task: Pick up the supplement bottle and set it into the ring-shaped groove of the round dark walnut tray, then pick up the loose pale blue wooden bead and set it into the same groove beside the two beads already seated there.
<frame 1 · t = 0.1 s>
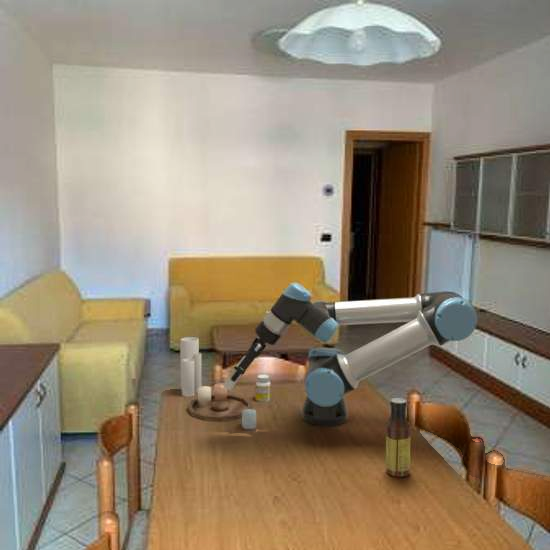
hand: (231, 380, 172), 15 cm above the table, tool tilted 35°, fingers open, 13 cm apart
supplement bottle: (262, 403, 196), on the table
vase: (191, 394, 203), on the table
seated bead cream: (204, 405, 189), point 1 cm above the table, touching tray
sauce bottle: (396, 473, 147), on the table
seated bead terracotta: (220, 401, 192), point 1 cm above the table, touching tray
loose bead: (249, 430, 172), on the table
tray: (220, 411, 186), on the table
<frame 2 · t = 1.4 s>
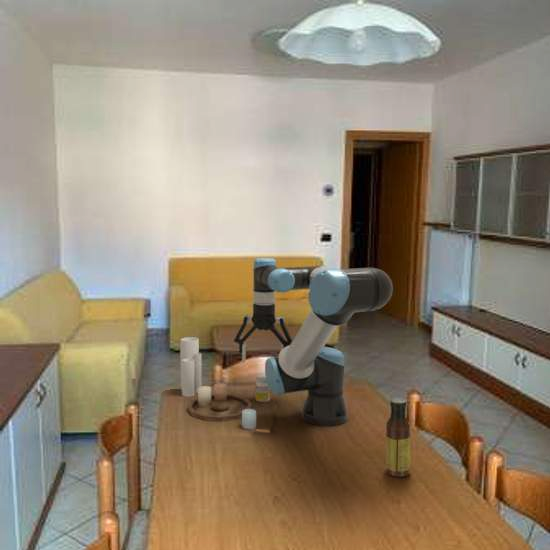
hand: (263, 363, 194), 14 cm above the table, tool pointing down, fingers open, 13 cm apart
nothing on the table moved.
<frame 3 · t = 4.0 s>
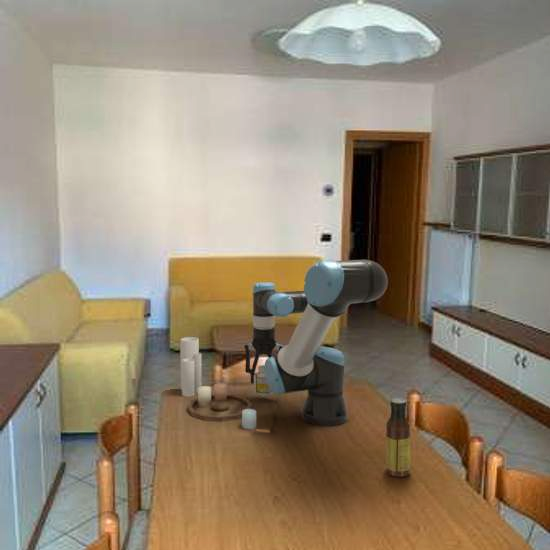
hand: (263, 392, 195), 4 cm above the table, tool pointing down, fingers closed on supplement bottle, 5 cm apart
supplement bottle: (264, 394, 195), point 3 cm above the table, touching gripper
everything else where it was.
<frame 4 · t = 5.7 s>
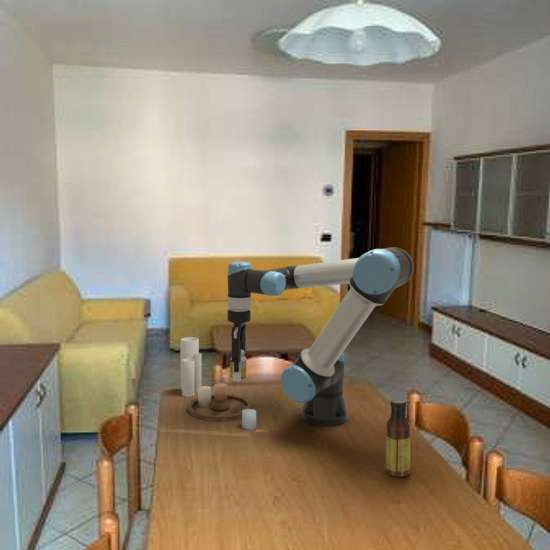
hand: (238, 377, 184), 12 cm above the table, tool pointing down, fingers closed on supplement bottle, 5 cm apart
supplement bottle: (238, 379, 184), point 12 cm above the table, touching gripper
everything else where it was.
when the fingers open (2 cm above the table, at t = 7.6 s): supplement bottle stays where it is, resting on tray.
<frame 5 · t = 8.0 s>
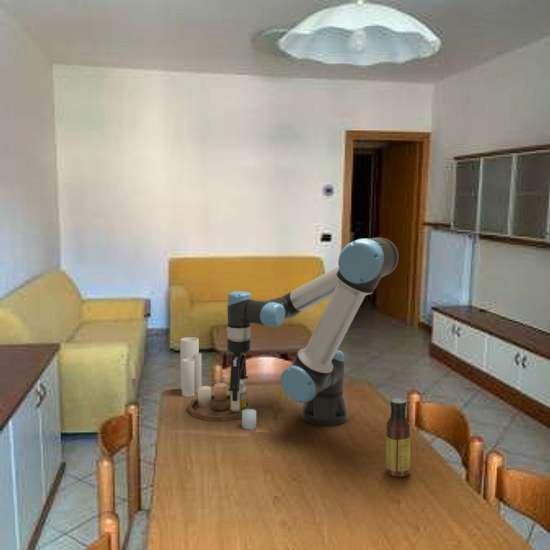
hand: (238, 403, 185), 3 cm above the table, tool pointing down, fingers open, 10 cm apart
supplement bottle: (237, 410, 186), point 1 cm above the table, touching tray
everything else where it was.
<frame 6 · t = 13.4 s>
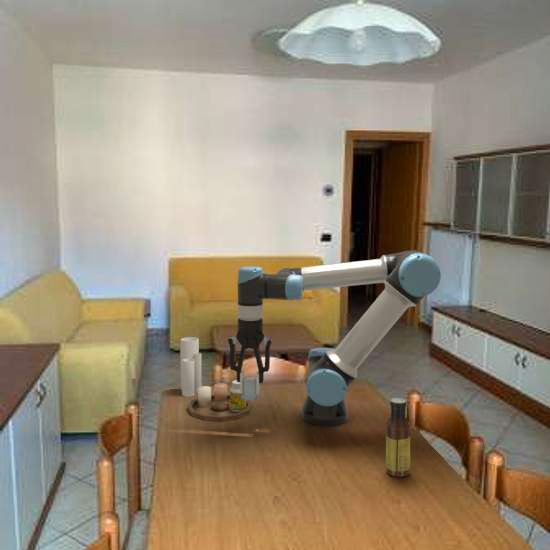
hand: (250, 392, 171), 12 cm above the table, tool pointing down, fingers closed on loose bead, 4 cm apart
loose bead: (250, 398, 171), point 10 cm above the table, touching gripper
everything else where it was.
when the fingers open (2 cm above the table, at t = 16.7 s): loose bead stays where it is, resting on tray.
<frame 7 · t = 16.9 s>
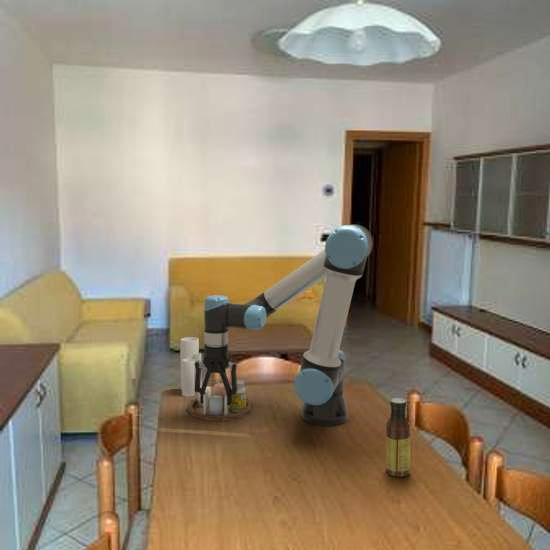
hand: (215, 413, 180), 2 cm above the table, tool pointing down, fingers open, 6 cm apart
loose bead: (215, 415, 180), point 1 cm above the table, touching tray
everything else where it was.
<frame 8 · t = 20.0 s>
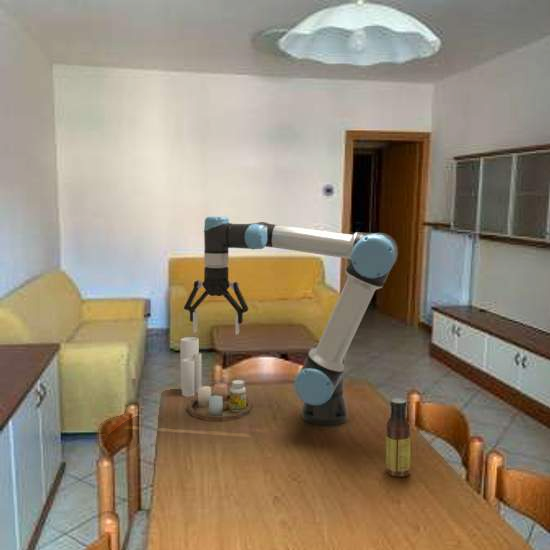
hand: (216, 332, 177), 29 cm above the table, tool pointing down, fingers open, 13 cm apart
nothing on the table moved.
at the end: supplement bottle inside the target area (0.1 cm from its centre), point 1.0 cm above the table; supplement bottle tilted 0°; loose bead inside the target area (0.1 cm from its centre), point 1.2 cm above the table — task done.
